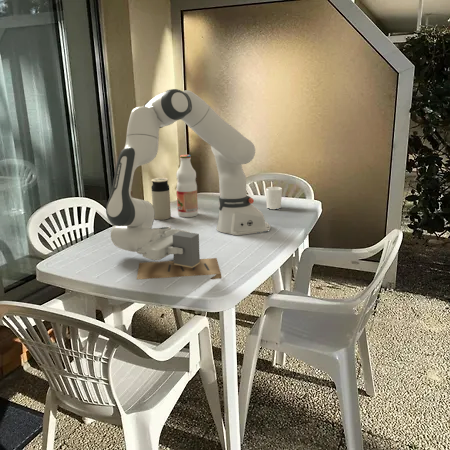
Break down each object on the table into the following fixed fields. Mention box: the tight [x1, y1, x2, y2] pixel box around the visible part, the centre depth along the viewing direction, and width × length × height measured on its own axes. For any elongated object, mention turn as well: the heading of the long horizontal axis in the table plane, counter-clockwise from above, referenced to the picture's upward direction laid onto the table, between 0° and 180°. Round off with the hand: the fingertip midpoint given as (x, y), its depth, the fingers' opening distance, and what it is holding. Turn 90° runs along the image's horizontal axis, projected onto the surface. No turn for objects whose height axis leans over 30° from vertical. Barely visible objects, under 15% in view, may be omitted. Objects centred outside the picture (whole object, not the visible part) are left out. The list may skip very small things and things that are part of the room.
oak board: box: [136, 257, 222, 280], centre depth 149 cm, size 26×14×2 cm, turn 97°
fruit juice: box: [175, 154, 199, 218], centre depth 213 cm, size 9×9×28 cm
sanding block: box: [172, 230, 201, 268], centre depth 147 cm, size 7×4×10 cm, turn 62°
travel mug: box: [151, 177, 172, 221], centre depth 210 cm, size 8×8×18 cm
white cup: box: [265, 186, 283, 209], centre depth 224 cm, size 8×8×10 cm
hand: (188, 248), depth 147 cm, fingers closed on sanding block, 4 cm apart
